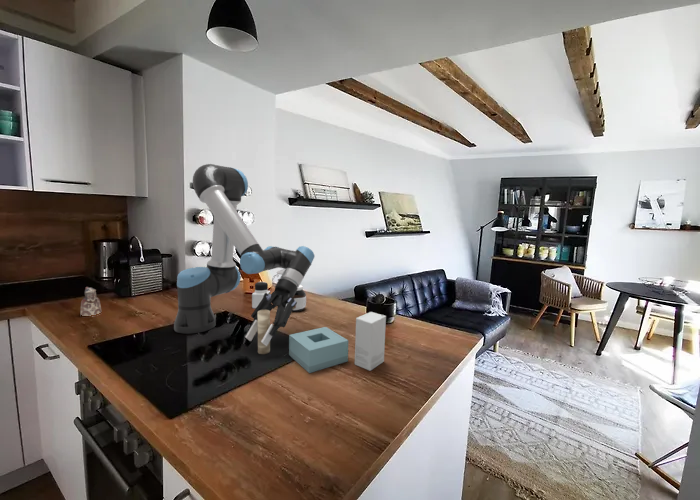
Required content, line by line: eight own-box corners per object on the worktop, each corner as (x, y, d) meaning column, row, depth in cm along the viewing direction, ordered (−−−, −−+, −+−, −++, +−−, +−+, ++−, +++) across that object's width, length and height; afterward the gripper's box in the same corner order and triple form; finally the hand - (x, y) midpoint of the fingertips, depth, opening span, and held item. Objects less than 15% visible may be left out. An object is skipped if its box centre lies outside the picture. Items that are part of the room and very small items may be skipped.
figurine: (83, 318, 134) (81, 290, 133) (78, 314, 138) (76, 287, 137) (103, 314, 140) (101, 287, 138) (98, 310, 144) (96, 284, 143)
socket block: (309, 373, 94) (309, 350, 93) (289, 355, 105) (289, 334, 105) (347, 361, 102) (348, 340, 101) (325, 345, 114) (325, 326, 113)
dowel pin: (260, 355, 105) (259, 314, 103) (256, 350, 108) (255, 310, 106) (271, 352, 107) (271, 312, 105) (267, 348, 110) (267, 308, 109)
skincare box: (369, 356, 106) (370, 310, 105) (385, 362, 102) (387, 315, 100) (353, 364, 100) (354, 317, 98) (370, 372, 96) (372, 322, 94)
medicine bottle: (266, 308, 153) (266, 284, 152) (251, 308, 154) (251, 284, 152) (270, 304, 160) (270, 281, 159) (256, 304, 161) (256, 280, 159)
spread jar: (307, 307, 157) (307, 284, 155) (301, 315, 145) (301, 290, 144) (283, 306, 158) (283, 283, 156) (276, 313, 146) (276, 289, 145)
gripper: (314, 293, 114) (284, 353, 102) (273, 285, 123) (241, 339, 111) (305, 281, 109) (272, 343, 97) (263, 274, 118) (228, 330, 106)
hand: (255, 341), depth 104 cm, fingers open, 6 cm apart
